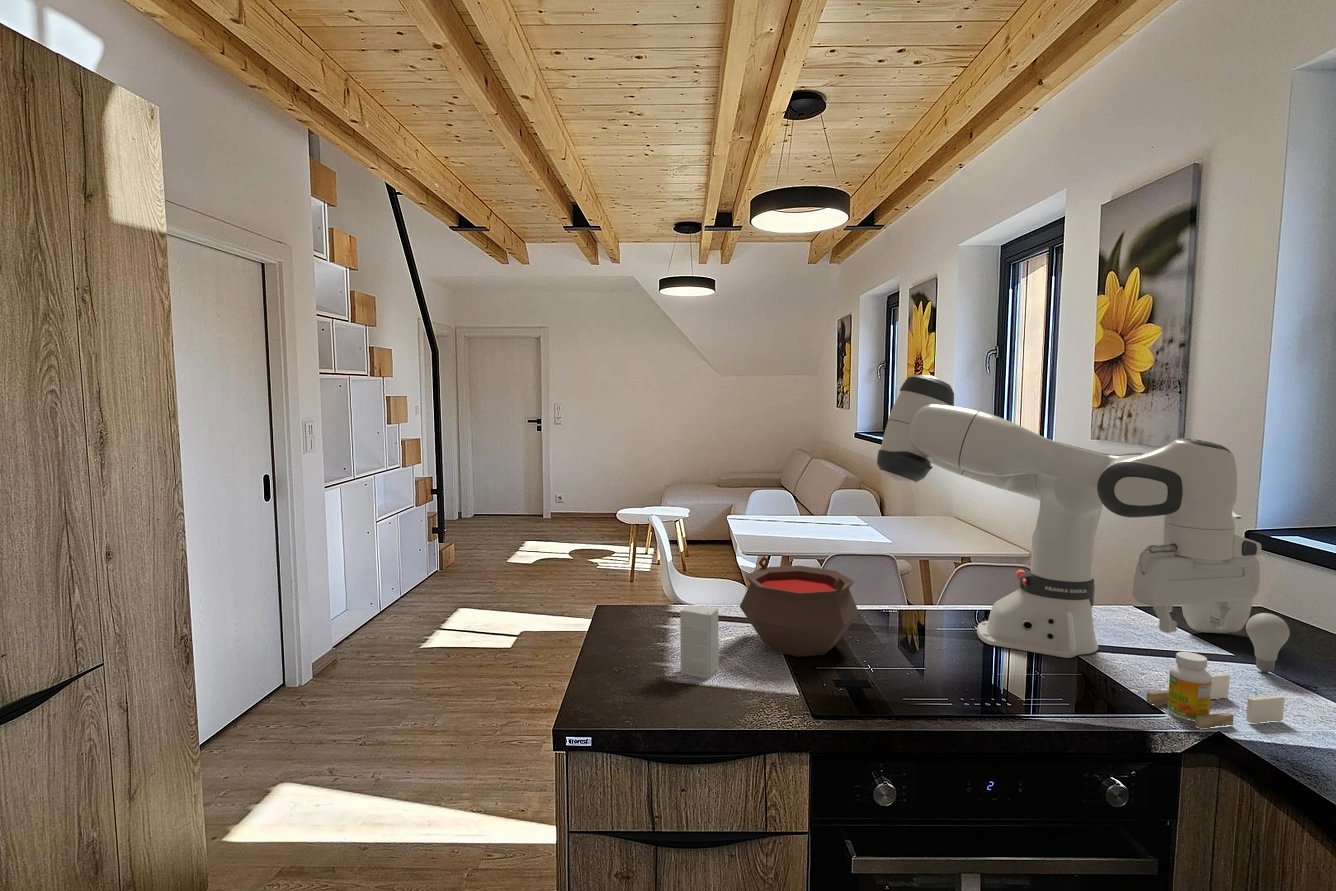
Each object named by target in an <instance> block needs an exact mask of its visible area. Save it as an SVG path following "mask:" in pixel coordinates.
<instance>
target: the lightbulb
mask: <svg viewBox="0 0 1336 891" xmlns="http://www.w3.org/2000/svg"><path fill="white" fill-rule="evenodd" d="M1245 630H1246V633H1247V635H1248V637H1249V640H1250V641H1251V643H1252V645H1253V648H1254V656H1255V667H1256V668H1257V669H1258V670H1260V671H1261V672H1262V673H1266V674H1268V673H1270V672H1273V671H1274V670H1275V665H1276V661H1277V660H1278V655H1279V651H1281V649H1282V647H1283V646H1284V645H1285V644H1286V643H1287V641H1288V640H1289V638H1290V633H1291V632H1290V628H1289V625H1288V623H1287V622H1285V620H1284V619H1282V618H1281V617H1280V616H1277V615H1275V614H1273V613H1268V612H1261V613H1256V614H1254V615H1252V616H1251V617H1249V618H1248V620H1247V622H1246V623H1245Z"/></svg>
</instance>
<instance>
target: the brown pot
mask: <svg viewBox="0 0 1336 891" xmlns="http://www.w3.org/2000/svg"><path fill="white" fill-rule="evenodd" d="M769 563H770V560H769V559H768V558H767V557H766V555H763V556H762V557H761V558H760V560H759V562H758V565H759V566H760V568H758V569H756V570H754V571H752V572H750V573H748V574H746V575H744V576H745V578H746V579H747V581H748V582H749V586H748V588H747V590H746V592H745V594H744V597H743V598H742V601H741V603H740V605H739V608H740V609H741V610H742V611H741V612H742V613H744V615H745V617H746V618H747V620H748V621H749V623H750V624H751V626H752V627H753V629H754V630H755V633H756V634H757V635H758V637H759V638H760V640H761V641H762V643H764V644H765V645H766V647H767V648H769V650H770V651H771V652H775V653H780V654H784V655H788V656H789V655H790V656H793V657H798V658H799V657H809V656H811V657H812V656H825V655H826V653H828V652H829V651H830V650H832V648H834V647H835V645H837V643H838V642H839V640H841V638H842V636H843V635H844V634H845V632H846V631H847V630H849V628H850V626H851V625H852V624H853V622H854V621H855V620H856V618H857V617H858V616H859V615H860V612H859V609H858V607H857V605H856V604H857V603H856V602H855V600H854V597H853V595H852V593H851V590H850V588H851V586H852V585H853V584H854V583H855V582H856V581H855V580H854V579H852V578H851V577H848V576H847V575H845V574H843V573H841V572H839V571H837V570H835V569H833V570H832V569H827V568H819V567H812V566H811V567H810V566H804V565H798V564H797V565H783V566H768V565H769Z"/></svg>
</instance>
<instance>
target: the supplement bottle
mask: <svg viewBox="0 0 1336 891" xmlns="http://www.w3.org/2000/svg"><path fill="white" fill-rule="evenodd" d="M1175 663H1176V664H1174V665H1172V666H1171V667H1170V670H1169V678H1168V679H1169V680H1168V681H1169V683H1168V690H1169V695H1168V704H1167V711H1168V713H1169V712H1170V713H1171V714H1170V713H1169V714H1170V715H1172V714H1173V715H1175V716H1177V717H1176V718H1178V717H1180V718H1184V719H1190V720H1195V721H1196V716H1201V715H1211V714H1210V712H1211V701H1212V700H1211V684H1212V677H1211V675H1212V674H1210V672H1209V671H1208V670H1206V669H1207V667H1208V658H1207V657H1206V656H1204V655H1202V654H1199V653H1194V652H1190V651H1179V652H1176V654H1175ZM1173 715H1172V716H1173ZM1175 716H1174V717H1175ZM1180 718H1179V719H1180Z"/></svg>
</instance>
